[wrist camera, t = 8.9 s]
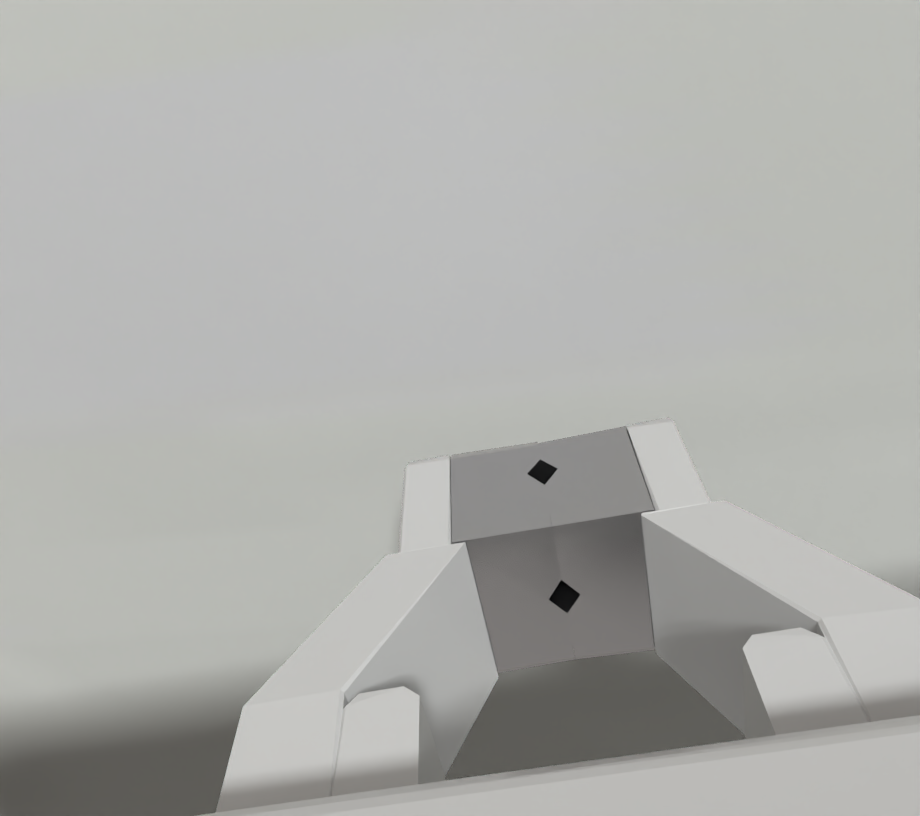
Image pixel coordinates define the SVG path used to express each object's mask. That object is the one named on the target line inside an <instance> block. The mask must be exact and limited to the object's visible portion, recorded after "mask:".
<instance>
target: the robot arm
mask: <svg viewBox="0 0 920 816" xmlns="http://www.w3.org/2000/svg"><path fill="white" fill-rule="evenodd" d="M573 648H574V649H573ZM649 650H655V651H656V654H657V655H658V656H659V657H660V658H661V659H662V660H663V661H665V662H666V663H667V664H668V665H669V666H670V667H671V668H672V669H673V670H674V671H675V672H677V673H678V674H679V675H680V676H681V677H682V678H683V679H684V680H685V681H686V682H687V683H689V684H690V685H691V686H692V687H693V688H694V689H695V690H696V691H697V692H698V693H699V694H701V695H702V696H703V697H704V698H705V699H706V700H707V701H708V702H709V703H710V704H711V705H713V706H714V707H715V708H716V709H717V710H718V711H719V712H720V713H721V714H722V715H723V716H725V717H726V718H727V719H728V720H729V721H730V722H731V723H732V724H733V725H734V726H735V727H737V728H738V729H739V730H740V731H741V732H742V733H743V734H744V735H745V739H742V740H735V741H727V742H720V743H713V744H706V745H698V746H691V747H684V748H677V749H669V750H662V751H655V752H648V753H640V754H633V755H626V756H618V757H611V758H604V759H597V760H589V761H582V762H575V763H568V764H560V765H553V766H546V767H538V768H531V769H524V770H517V771H509V772H502V773H495V774H488V775H480V776H473V777H466V778H459V779H451V780H446V778H445V776H446V774H447V772H448V770H449V768H450V767H451V765H452V763H453V761H454V759H455V757H456V756H457V754H458V752H459V750H460V748H461V746H462V744H463V743H464V741H465V739H466V737H467V735H468V733H469V731H470V730H471V728H472V726H473V724H474V722H475V720H476V718H477V717H478V715H479V713H480V711H481V709H482V707H483V705H484V704H485V702H486V700H487V698H488V696H489V694H490V692H491V691H492V689H493V687H494V685H495V683H496V681H497V680H498V678H499V677H498V673H502V672H507V671H513V670H519V669H524V668H530V667H535V666H541V665H547V664H552V663H558V662H564V661H569V660H575V659H584V658H592V657H600V656H608V655H617V654H625V653H633V652H641V651H649ZM574 653H575V655H574ZM196 816H920V599H919V598H918V597H916V596H914V595H912V594H910V593H908V592H906V591H904V590H902V589H900V588H898V587H896V586H894V585H892V584H890V583H888V582H886V581H884V580H882V579H880V578H878V577H876V576H874V575H872V574H870V573H868V572H866V571H864V570H862V569H860V568H858V567H856V566H854V565H852V564H850V563H848V562H846V561H844V560H842V559H841V558H839V557H837V556H835V555H833V554H831V553H829V552H827V551H825V550H823V549H821V548H819V547H817V546H815V545H813V544H811V543H809V542H807V541H805V540H803V539H801V538H799V537H797V536H795V535H793V534H791V533H789V532H787V531H785V530H783V529H781V528H779V527H777V526H775V525H773V524H771V523H769V522H767V521H766V520H764V519H762V518H760V517H758V516H756V515H754V514H752V513H750V512H748V511H746V510H744V509H742V508H740V507H738V506H736V505H734V504H732V503H730V502H728V501H726V500H721V501H715V502H711V500H710V498H709V496H708V494H707V492H706V489H705V487H704V485H703V483H702V481H701V479H700V476H699V474H698V472H697V470H696V468H695V466H694V464H693V461H692V459H691V457H690V455H689V453H688V451H687V448H686V446H685V444H684V442H683V440H682V438H681V435H680V433H679V431H678V429H677V427H676V425H675V422H674V420H672V419H670V418H669V417H665V418H661V419H656V420H651V421H646V422H641V423H637V424H632V425H627V426H624V427H619V428H614V429H609V430H604V431H599V432H593V433H588V434H583V435H578V436H573V437H568V438H563V439H557V440H552V441H547V442H542V443H538V442H534V443H527V444H521V445H514V446H507V447H501V448H494V449H487V450H481V451H474V452H468V453H461V454H454V455H452V456H451V457H450V456H449V455H446V456H440V457H435V458H429V459H424V460H418V461H413V462H408V464H407V466H406V467H405V469H404V482H403V495H402V509H401V523H400V536H399V550H398V553H394V554H388V555H385V556H384V557H383V558H382V559H381V560H380V562H379V563H378V564H377V565H376V566H375V567H374V568H373V569H372V570H371V571H370V572H369V573H368V574H367V575H366V576H365V577H364V579H363V580H362V581H361V582H360V583H359V584H358V585H357V586H356V587H355V588H354V589H353V590H352V591H351V592H350V593H349V594H348V595H347V597H346V598H345V599H344V600H343V601H342V602H341V603H340V604H339V605H338V606H337V607H336V608H335V609H334V610H333V611H332V612H331V614H330V615H329V616H328V617H327V618H326V619H325V620H324V621H323V622H322V623H321V624H320V625H319V626H318V627H317V628H316V629H315V631H314V632H313V633H312V634H311V635H310V636H309V637H308V638H307V639H306V640H305V641H304V642H303V643H302V644H301V645H300V646H299V648H298V649H297V650H296V651H295V652H294V653H293V654H292V655H291V656H290V657H289V658H288V659H287V660H286V661H285V662H284V663H283V664H282V666H281V667H280V668H279V669H278V670H277V671H276V672H275V673H274V674H273V675H272V676H271V677H270V678H269V679H268V680H267V681H266V683H265V684H264V685H263V686H262V687H261V688H260V689H259V690H258V691H257V692H256V693H255V694H254V695H253V696H252V697H251V698H250V700H249V701H248V702H247V703H246V704H245V705H244V706H243V708H242V712H241V716H240V720H239V724H238V728H237V731H236V735H235V739H234V743H233V747H232V751H231V755H230V758H229V762H228V766H227V770H226V774H225V778H224V782H223V786H222V789H221V793H220V797H219V801H218V805H217V809H216V813H210V814H203V815H196Z"/></svg>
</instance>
